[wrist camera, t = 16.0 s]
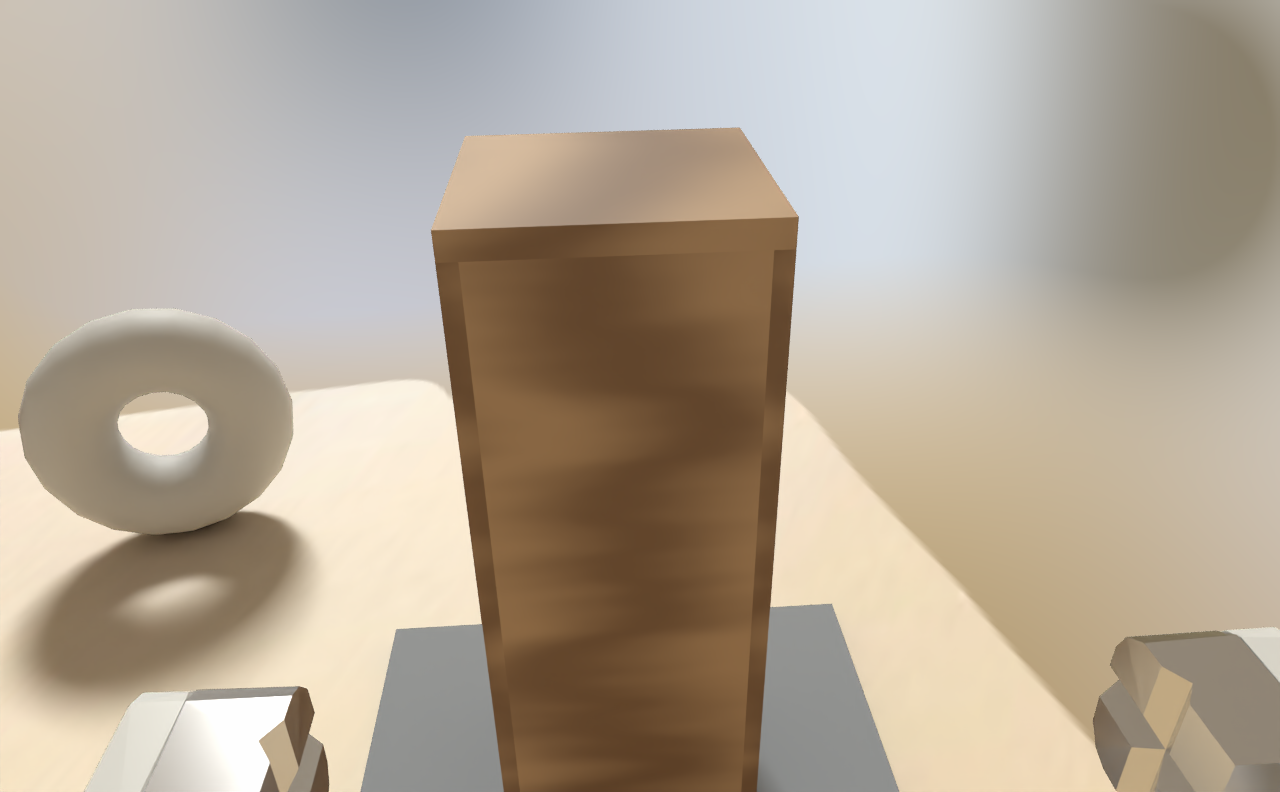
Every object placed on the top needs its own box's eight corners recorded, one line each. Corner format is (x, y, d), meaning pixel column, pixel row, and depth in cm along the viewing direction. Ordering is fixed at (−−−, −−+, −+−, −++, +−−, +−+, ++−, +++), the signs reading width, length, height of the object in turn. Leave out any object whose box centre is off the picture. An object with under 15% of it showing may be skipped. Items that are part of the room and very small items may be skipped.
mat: (307, 1068, 22) (302, 1055, 22) (398, 641, 34) (396, 629, 34) (970, 1013, 23) (974, 1000, 23) (830, 616, 35) (831, 603, 35)
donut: (310, 476, 44) (265, 276, 39) (317, 518, 41) (270, 308, 36) (69, 528, 40) (-13, 317, 36) (60, 577, 38) (-32, 355, 33)
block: (516, 887, 25) (431, 230, 16) (525, 703, 31) (465, 136, 22) (750, 870, 26) (798, 217, 16) (717, 691, 31) (739, 127, 22)
